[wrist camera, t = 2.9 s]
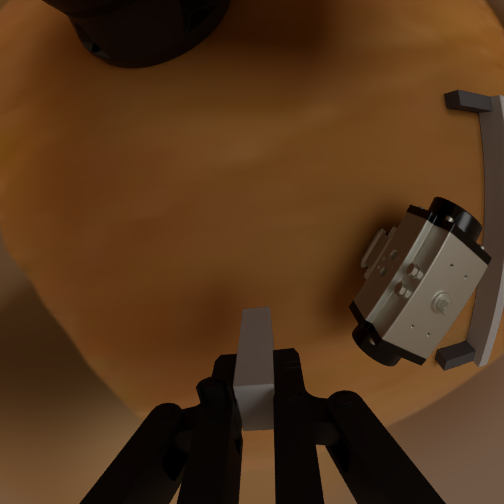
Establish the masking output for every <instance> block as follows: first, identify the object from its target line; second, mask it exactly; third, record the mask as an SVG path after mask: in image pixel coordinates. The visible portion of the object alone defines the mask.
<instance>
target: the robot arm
mask: <svg viewBox="0 0 504 504" xmlns="http://www.w3.org/2000/svg"><path fill="white" fill-rule="evenodd" d="M42 1H44V2H46V3H47V4H49V5H51V6H52V7H54V8H56V9H58V10H60V11H61V12H63V13H64V14H66V15H67V16H68V18H69V19H70V21H71V23H72V25H73V27H74V29H75V31H76V33H77V35H78V37H79V39H80V41H81V42H82V44H83V45H84V47H85V48H86V49H87V50H88V51H89V52H90V53H91V54H93V55H94V56H96V57H98V58H100V59H101V60H103V61H105V62H107V63H109V64H111V65H114V66H118V67H125V68H139V67H146V66H151V65H155V64H159V63H162V62H165V61H168V60H170V59H173V58H175V57H177V56H179V55H181V54H183V53H185V52H186V51H188V50H190V49H191V48H193V47H194V46H196V45H197V44H198V43H200V42H201V41H202V40H204V39H205V38H206V37H207V36H208V35H209V34H210V33H211V32H212V31H213V30H214V29H215V28H216V27H217V25H218V24H219V23H220V21H221V20H222V18H223V17H224V15H225V13H226V11H227V9H228V6H229V3H230V0H42ZM196 390H197V393H198V396H199V399H200V404H199V405H197V406H194V407H190V408H186V409H181V408H180V407H179V406H178V405H176V404H174V403H164V404H160V405H158V406H156V407H155V408H154V409H153V410H152V411H151V412H150V414H149V415H148V416H147V418H146V419H145V420H144V421H143V423H142V424H141V425H140V427H139V428H138V430H137V431H136V432H135V433H134V435H133V436H132V437H131V439H130V440H129V441H128V442H127V444H126V445H125V446H124V447H123V449H122V450H121V451H120V453H119V454H118V455H117V457H116V458H115V459H114V460H113V462H112V463H111V464H110V466H109V467H108V468H107V469H106V471H105V472H104V473H103V474H102V476H101V477H100V478H99V480H98V481H97V482H96V483H95V485H94V486H93V487H92V488H91V490H90V491H89V492H88V493H87V495H86V496H85V497H84V499H83V500H82V501H81V502H80V504H169V503H170V502H171V500H172V498H173V496H174V495H175V493H176V491H177V489H178V488H179V486H180V484H181V487H180V491H179V496H178V500H177V504H238V503H239V490H240V476H241V462H242V447H243V438H242V434H241V430H242V428H243V431H252V430H268V429H274V450H275V493H276V494H275V497H276V504H324V499H323V491H322V485H321V477H320V471H319V464H318V457H317V451H316V444H317V445H325V446H326V449H327V450H328V452H329V454H330V456H331V458H332V459H333V461H334V463H335V465H336V467H337V468H338V470H339V472H340V474H341V476H342V477H343V479H344V481H345V483H346V484H347V486H348V488H349V490H350V491H351V493H352V495H353V497H354V498H355V500H356V502H357V504H446V503H445V502H444V501H443V500H442V498H441V497H440V496H439V495H438V493H437V492H436V491H435V490H434V488H433V487H432V486H431V485H430V483H429V482H428V481H427V480H426V478H425V477H424V476H423V475H422V474H421V472H420V471H419V470H418V468H417V467H416V466H415V465H414V464H413V462H412V461H411V460H410V459H409V457H408V456H407V455H406V453H405V452H404V451H403V450H402V448H401V447H400V446H399V445H398V443H397V442H396V441H395V440H394V438H393V437H392V436H391V435H390V433H389V432H388V431H387V430H386V428H385V427H384V426H383V425H382V423H381V422H380V421H379V420H378V418H377V417H376V416H375V414H374V413H373V412H372V411H371V409H370V408H369V407H368V406H367V404H366V403H365V402H364V401H363V399H362V398H361V397H360V396H359V395H358V394H357V393H355V392H352V391H345V390H343V391H338V392H336V393H334V394H332V395H331V396H330V397H329V398H328V399H326V398H318V397H314V396H312V395H310V394H309V393H308V392H307V391H306V389H305V386H304V381H303V375H302V369H301V364H300V358H299V353H298V352H297V351H296V350H295V349H294V348H290V349H280V350H274V341H273V332H272V323H271V313H270V307H260V308H250V309H243V313H242V321H241V329H240V337H239V344H238V352H237V354H228V355H220V356H219V357H218V359H217V360H216V361H215V364H214V370H213V373H212V377H208V378H206V379H203V380H202V381H200V382H199V383H198V385H197V386H196Z"/></svg>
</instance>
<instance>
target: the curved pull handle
mask: <svg viewBox="0 0 504 504" xmlns="http://www.w3.org/2000/svg"><path fill="white" fill-rule="evenodd" d="M444 95H445V100H446V106H447V108H449V109H456V110H463V111H470V112H476V113H479V118H480V126H481V134H482V144H483V156H484V175H485V216H484V235H483V247H484V248H485V249H484V251H485V252H486V253H487V254H488V255H489V256H490V257H492V259H491V261H490V263H489V265H488V267H487V269H486V270H485V272H484V274H483V276H482V278H481V279H480V281H479V283H478V287H477V293H476V299H475V304H474V309H473V314H472V319H471V323H470V328H469V332H468V336H467V340H466V341H464V342H461V343H458V344H455V345H451V346H448V347H445V348H441V349H438V350H437V354H436V358H435V360H436V361H437V362H438V363H439V365H440V366H441V368H442V369H443V370H444V371H445V370H448V369H451V368H454V367H457V366H460V365H462V364H465V363H468V362H471V361H474V363H475V364H476V365H477V366H478V367H481V366H483V365H486V364H487V362H488V359H489V356H490V353H491V350H492V347H493V344H494V341H495V337H496V334H497V330H498V327H499V323H500V319H501V315H502V311H503V306H504V96H501V95H498V96H492V97H489V96H485V95H480V94H476V93H471V92H466V91H461V90H456V91H453V92H449V93H446V94H444Z"/></svg>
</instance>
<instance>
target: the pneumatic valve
mask: <svg viewBox="0 0 504 504" xmlns="http://www.w3.org/2000/svg"><path fill="white" fill-rule="evenodd" d="M481 231H482V226H481V224H480V223H479V222H478V221H477V220H476V219H475V218H474V217H473V216H472V215H471V214H470V213H468V212H467V211H466V210H464V209H463V208H461V207H460V206H458V205H456V204H455V203H453V202H451V201H449V200H447V199H444V198H441V197H435V198H434V199H433V201H432V203H431V205H430V207H429V209H428V210H425V209H424V208H422V207H421V206H419V207H416V206H413V205H410V206H409V208H408V210H407V212H406V214H405V215H404V217H403V219H402V221H401V223H400V225H399V226H398V228H396V227H395V226H393V227H392V229H391V231H390V232H389V234H388V236H387V235H386V234H385V233H386V232H387V231H385V230H384V229H382V228H381V230H377V232H376V234H375V235H374V237H373V239H372V241H371V242H370V244H369V246H368V247H367V249H366V251H365V252H364V254H363V256H362V257H361V259H360V260H362V262H361V263H360V264H361V267H362V268H364V267H366V265H367V266H368V267H369V268H368V269H367V271H366V273H365V274H364V278H365V279H366V282H365V283H364V285H363V286H362V288H361V289H360V291H359V292H358V294H357V295H356V297H355V298H354V300H353V301H352V303H351V304H350V306H349V308H350V310H351V311H352V313H353V315H354V317H355V318H356V320H357V322H358V325H357V326H356V328H355V329H354V330H353V332H352V337H353V339H354V341H355V342H356V344H357V345H358V346H359V348H360V349H361V350H362V351H363V352H365V353H366V354H367V355H368V356H369V357H371V358H372V359H374V360H375V361H377V362H379V363H381V364H383V365H386V366H395V365H396V364H397V363H398V361H399V360H400V359H401V358H404V359H407V360H409V361H411V362H414V363H416V364H419V365H421V366H422V364H423V363H424V362H425V361H426V359H427V358H428V357H429V356H430V354H431V353H432V352H433V350H434V349H435V348H436V346H437V345H438V344H439V342H440V341H441V340H442V338H443V337H444V336H445V334H446V333H447V331H448V330H449V328H450V327H451V326H452V324H453V323H454V321H455V320H456V318H457V317H458V315H459V314H460V312H461V311H462V309H463V308H464V306H465V304H466V303H467V301H468V300H469V298H470V296H471V295H472V293H473V291H474V290H475V288H476V286H477V285H478V283H479V281H480V279H481V278H482V276H483V274H484V272H485V270H486V269H487V267H488V265H489V263H490V261H491V259H492V257H490V256H489V255H488V254H487V253H486V252H485V251H484V249H485V248H484V247H483V246H482V245H480V244H479V245H478V244H477V243H476V241H477V239H478V237H479V235H480V233H481Z"/></svg>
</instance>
